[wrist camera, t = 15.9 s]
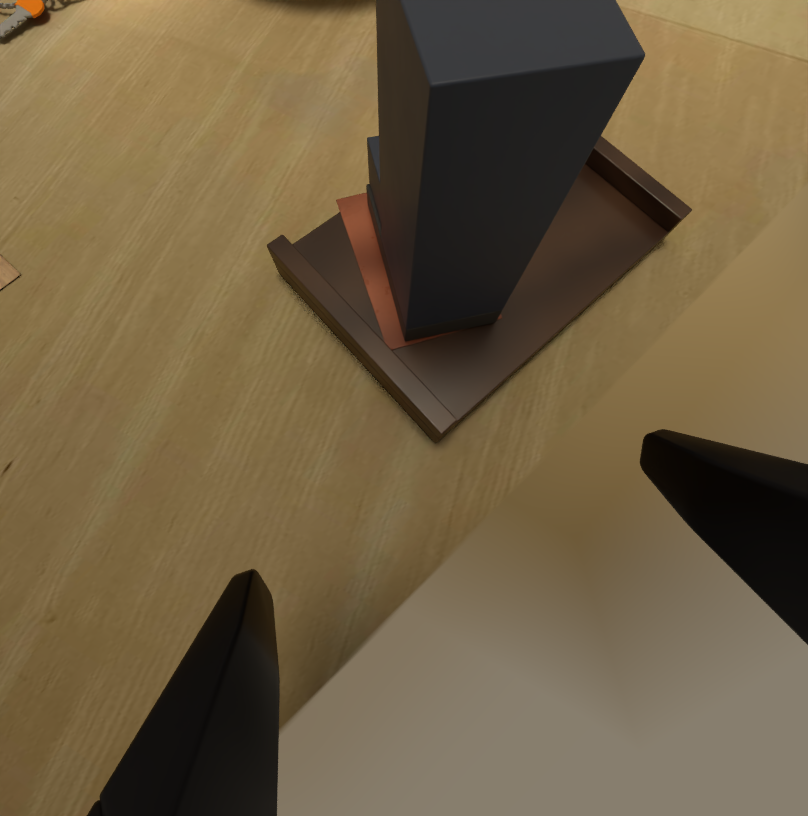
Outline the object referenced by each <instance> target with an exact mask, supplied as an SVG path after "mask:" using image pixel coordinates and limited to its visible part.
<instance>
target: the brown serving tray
mask: <svg viewBox="0 0 808 816" xmlns="http://www.w3.org/2000/svg"><path fill="white" fill-rule="evenodd" d="M336 201H337V204H338V207H339V210H340V212H339V213H338V214H336V215H335V216H333V217H332V218H331V219H329V220H328V221H326V222H325V223H323V224H322V225H320V226H319V227H317V228H316V229H314V230H313V231H311V232H310V233H309V234H307V235H306V236H304V237H303V238H301V239H300V240H298V241H297V242H295V243H294V244H291V243H290V242H289V241H288V239H287V238H286V237H285V236H284V235H281V236H279V237H278V238H276V239H275V240H273V241H272V242H270V243H269V244H267V248H268V250H269V252H270V254H271V256H272V258H273V261H274V263H275V265H276V268H277V270H278V272H279V273H280V275H281V276H282V277H283V278H284V279H285V280H286V281H287V282H288V283H289V284H290V285H291V287H292V288H293V289H294V290H295V291H296V292H297V293H298V294H299V295H300V296H301V297H302V299H303V300H304V301H305V302H306V303H307V304H308V305H309V306H310V307H311V308H312V309H313V311H314V312H315V313H316V314H317V315H318V316H319V317H320V318H321V319H322V320H323V321H324V323H325V324H326V325H327V326H328V327H329V328H330V329H331V330H332V331H333V332H334V333H335V335H336V336H337V337H338V338H339V339H340V340H341V341H342V342H343V343H344V344H345V345H346V347H347V348H348V349H349V350H350V351H351V352H352V353H353V354H354V355H355V356H356V357H357V359H358V360H359V361H360V362H361V363H362V364H363V365H364V366H365V367H366V368H367V369H368V371H369V372H370V373H371V374H372V375H373V376H374V377H375V378H376V379H377V380H378V381H379V383H380V384H381V385H382V386H383V387H384V388H385V389H386V390H387V391H388V392H389V393H390V394H391V396H392V397H393V398H394V399H395V400H396V401H397V402H398V403H399V404H400V405H401V406H402V408H403V409H404V410H405V411H406V412H407V413H408V414H409V415H410V416H411V417H412V418H413V420H414V421H415V422H416V423H417V424H418V425H419V426H420V427H421V428H422V429H423V430H424V432H425V433H426V434H427V435H428V436H429V437H430V438H431V439H432V440H433V441H434V442H435V443H437V442H438V441H439V440H440V439H441V438H442V437H443V436H445V435H446V434H447V433H448V432H449V431H450V430H451V429H452V428H453V427H455V426H456V425H457V424H458V423H459V422H460V421H461V420H462V419H464V418H465V417H466V416H467V415H468V414H469V413H470V412H471V411H472V410H474V409H475V408H476V407H477V406H478V405H479V404H480V403H481V402H482V401H484V400H485V399H486V398H487V397H488V396H489V395H490V394H491V393H492V392H494V391H495V390H496V389H497V388H498V387H499V386H500V385H501V384H502V383H504V382H505V381H506V380H507V379H508V378H509V377H510V376H511V375H513V374H514V373H515V372H516V371H517V370H518V369H519V368H520V367H521V366H523V365H524V364H525V363H526V362H527V361H528V360H529V359H530V358H531V357H533V356H534V355H535V354H536V353H537V352H538V351H539V350H540V349H541V348H543V347H544V346H545V345H546V344H547V343H548V342H549V341H550V340H552V339H553V338H554V337H555V336H556V335H557V334H558V333H559V332H560V331H562V330H563V329H564V328H565V327H566V326H567V325H568V324H569V323H570V322H572V321H573V320H574V319H575V318H576V317H577V316H578V315H579V314H580V313H582V312H583V311H584V310H585V309H586V308H587V307H588V306H589V305H590V304H592V303H593V302H594V301H595V300H596V299H597V298H598V297H599V296H601V295H602V294H603V293H604V292H605V291H606V290H607V289H608V288H609V287H611V286H612V285H613V284H614V283H615V282H616V281H617V280H618V279H619V278H621V277H622V276H623V275H624V274H625V273H626V272H627V271H628V270H629V269H631V268H632V267H633V266H634V265H635V264H636V263H637V262H638V261H640V260H641V259H642V258H643V257H644V256H645V255H646V254H647V253H648V252H650V251H651V250H652V249H653V248H654V247H655V246H656V245H657V244H658V243H660V242H661V241H662V240H663V239H664V238H665V237H666V236H667V235H668V234H669V233H670V232H671V231H672V230H673V229H674V228H675V227H676V226H677V225H678V224H679V223H680V222H681V221H682V220H683V219H684V218H685V217H686V216H687V215H688V214H689V213H690V212H691V211H692V209H691V208H690V207H689V206H688V205H686V204H685V203H684V202H683V201H681V200H680V199H679V198H678V197H676V196H675V195H674V194H673V193H671V192H670V191H669V190H668V189H666V188H665V187H664V186H663V185H661V184H660V183H659V182H658V181H656V180H655V179H654V178H653V177H651V176H650V175H649V174H648V173H647V172H645V171H644V170H643V169H642V168H640V167H639V166H638V165H637V164H635V163H634V162H633V161H632V160H630V159H629V158H628V157H627V156H625V155H624V154H623V153H622V152H620V151H619V150H618V149H617V148H615V147H614V146H613V145H612V144H610V143H609V142H608V141H607V140H606V139H604V138H603V137H602V136H600V138H599V139H598V141H597V143H596V145H595V146H594V148H593V150H592V152H591V154H590V155H589V157H588V159H587V161H586V162H585V164H584V166H583V168H582V170H581V171H580V173H579V175H578V177H577V178H576V180H575V182H574V184H573V186H572V187H571V189H570V191H569V193H568V194H567V196H566V198H565V200H564V202H563V203H562V205H561V207H560V209H559V211H558V212H557V214H556V216H555V218H554V219H553V221H552V223H551V225H550V227H549V228H548V230H547V232H546V234H545V235H544V237H543V239H542V241H541V243H540V244H539V246H538V248H537V250H536V251H535V253H534V255H533V257H532V259H531V260H530V262H529V264H528V266H527V267H526V269H525V271H524V273H523V275H522V276H521V278H520V280H519V282H518V283H517V285H516V287H515V289H514V291H513V292H512V294H511V296H510V298H509V299H508V301H507V303H506V305H505V307H504V308H503V310H502V312H501V314H500V315H499V317H498V319H497V321H496V322H495V323H491V324H486V325H482V326H477V327H472V328H467V329H463V330H458V331H453V332H448V333H444V334H439V335H434V336H429V337H424V338H420V339H415V340H410V341H405V340H404V337H403V333H402V330H401V326H400V322H399V318H398V315H397V311H396V307H395V303H394V300H393V296H392V292H391V289H390V285H389V281H388V277H387V274H386V270H385V266H384V263H383V259H382V255H381V251H380V248H379V244H378V240H377V237H376V233H375V229H374V225H373V222H372V218H371V214H370V210H369V207H368V203H367V193H363V194H359V195H354V196H350V197H346V198H341V199H337V200H336Z"/></svg>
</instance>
